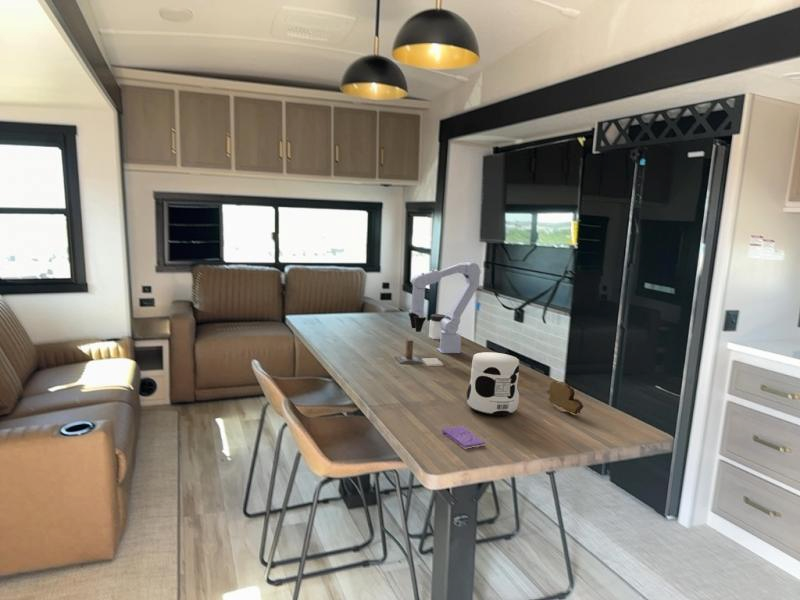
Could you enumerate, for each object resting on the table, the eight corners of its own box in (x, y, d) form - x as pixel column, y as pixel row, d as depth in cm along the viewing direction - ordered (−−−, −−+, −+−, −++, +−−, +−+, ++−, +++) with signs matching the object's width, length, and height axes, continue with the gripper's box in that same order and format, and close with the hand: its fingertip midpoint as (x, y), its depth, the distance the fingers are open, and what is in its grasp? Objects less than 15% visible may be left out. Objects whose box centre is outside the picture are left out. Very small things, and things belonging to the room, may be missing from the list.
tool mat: (416, 357, 241) (416, 356, 241) (422, 363, 231) (422, 362, 231) (394, 357, 239) (394, 356, 239) (400, 363, 229) (400, 362, 229)
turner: (415, 358, 237) (416, 339, 236) (419, 361, 231) (420, 342, 230) (400, 358, 236) (401, 339, 234) (403, 362, 230) (404, 342, 228)
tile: (436, 358, 238) (443, 363, 230) (436, 361, 239) (442, 366, 230) (421, 358, 237) (427, 364, 228) (421, 361, 237) (427, 367, 228)
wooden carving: (586, 418, 177) (589, 389, 175) (575, 420, 175) (579, 391, 173) (550, 402, 191) (553, 375, 190) (541, 403, 189) (543, 376, 188)
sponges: (464, 451, 148) (464, 445, 147) (441, 433, 159) (441, 427, 159) (485, 447, 151) (485, 441, 151) (461, 430, 162) (461, 424, 162)
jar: (426, 336, 285) (427, 314, 283) (439, 335, 289) (441, 313, 287) (434, 340, 277) (436, 317, 275) (448, 339, 281) (449, 316, 279)
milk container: (482, 397, 192) (486, 348, 189) (526, 410, 181) (531, 359, 178) (455, 409, 179) (459, 357, 176) (501, 424, 168) (506, 368, 165)
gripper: (405, 298, 253) (404, 326, 255) (413, 303, 239) (411, 333, 242) (420, 298, 255) (418, 326, 257) (428, 304, 241) (426, 333, 243)
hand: (416, 329), depth 249 cm, fingers open, 7 cm apart
